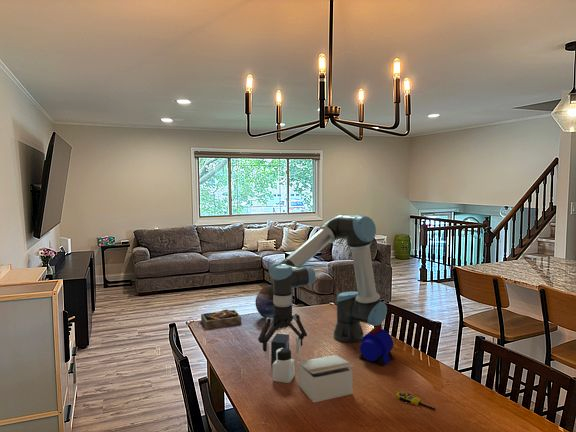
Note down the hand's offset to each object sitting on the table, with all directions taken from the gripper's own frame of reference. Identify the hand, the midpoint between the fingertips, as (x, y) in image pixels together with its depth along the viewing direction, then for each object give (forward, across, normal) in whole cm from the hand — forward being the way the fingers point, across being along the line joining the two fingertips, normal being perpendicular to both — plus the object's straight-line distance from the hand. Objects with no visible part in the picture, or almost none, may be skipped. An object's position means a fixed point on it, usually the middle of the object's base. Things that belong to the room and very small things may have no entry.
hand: (282, 356), depth 170 cm
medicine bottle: (+10, 0, 0) cm, 10 cm away
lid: (-1, -11, +15) cm, 19 cm away
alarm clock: (+9, -44, -1) cm, 45 cm away
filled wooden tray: (+9, +8, -80) cm, 81 cm away
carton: (+9, -11, +15) cm, 21 cm away
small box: (+9, -5, -17) cm, 20 cm away
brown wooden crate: (+9, +7, -80) cm, 81 cm away
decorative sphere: (+9, -21, -74) cm, 78 cm away
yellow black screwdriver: (+10, -37, +36) cm, 53 cm away
